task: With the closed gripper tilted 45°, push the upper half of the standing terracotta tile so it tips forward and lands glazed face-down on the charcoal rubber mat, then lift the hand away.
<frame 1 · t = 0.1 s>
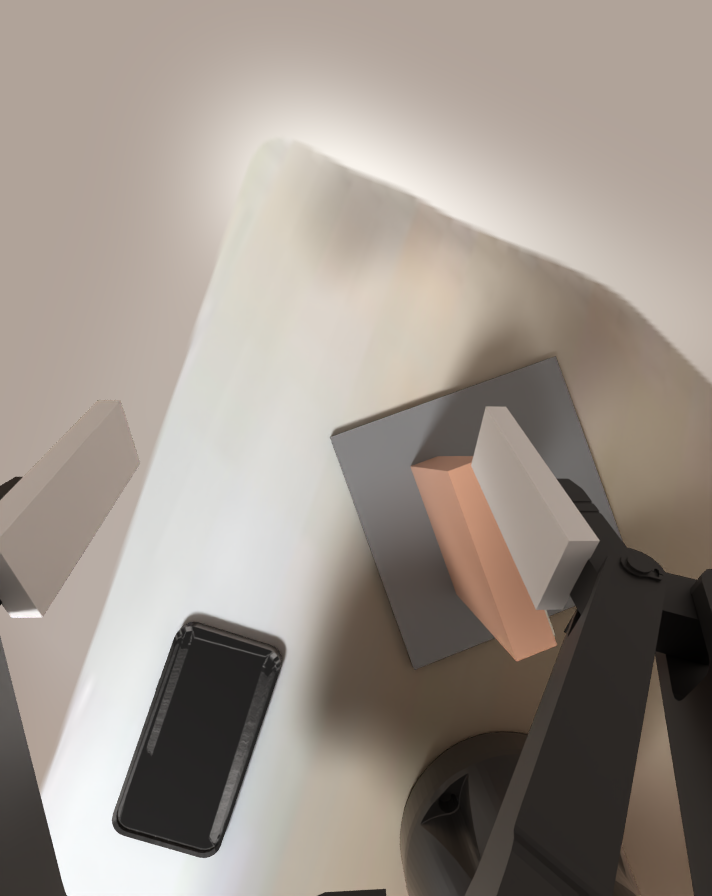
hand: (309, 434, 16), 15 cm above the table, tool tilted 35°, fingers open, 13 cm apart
tile: (448, 524, 31), point 1 cm above the table, touching mat
mat: (483, 509, 31), on the table
phone: (202, 729, 31), on the table
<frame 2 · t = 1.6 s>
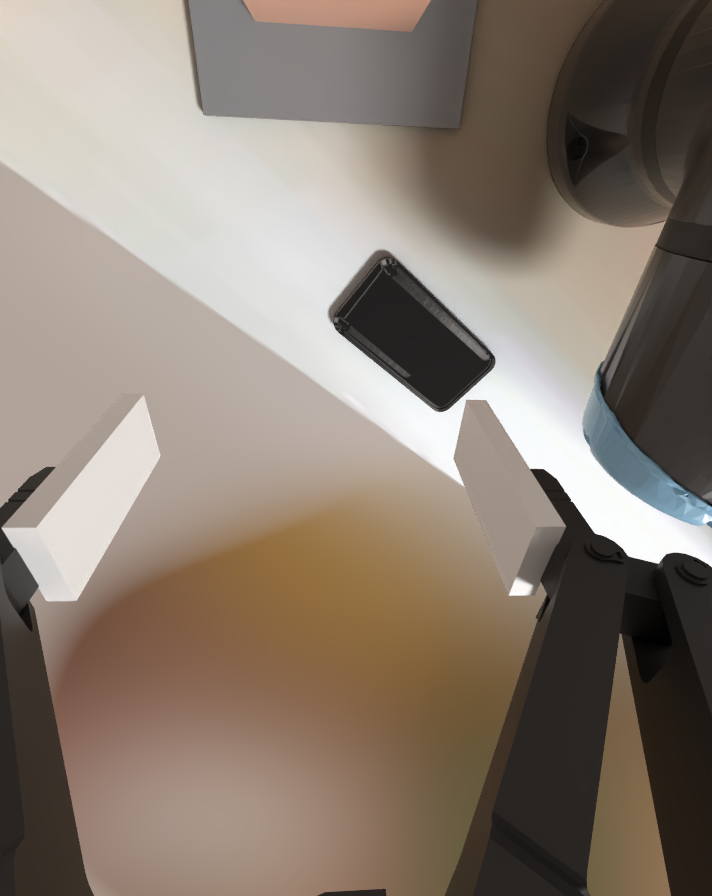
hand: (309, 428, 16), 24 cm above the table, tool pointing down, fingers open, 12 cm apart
phone: (414, 339, 40), on the table
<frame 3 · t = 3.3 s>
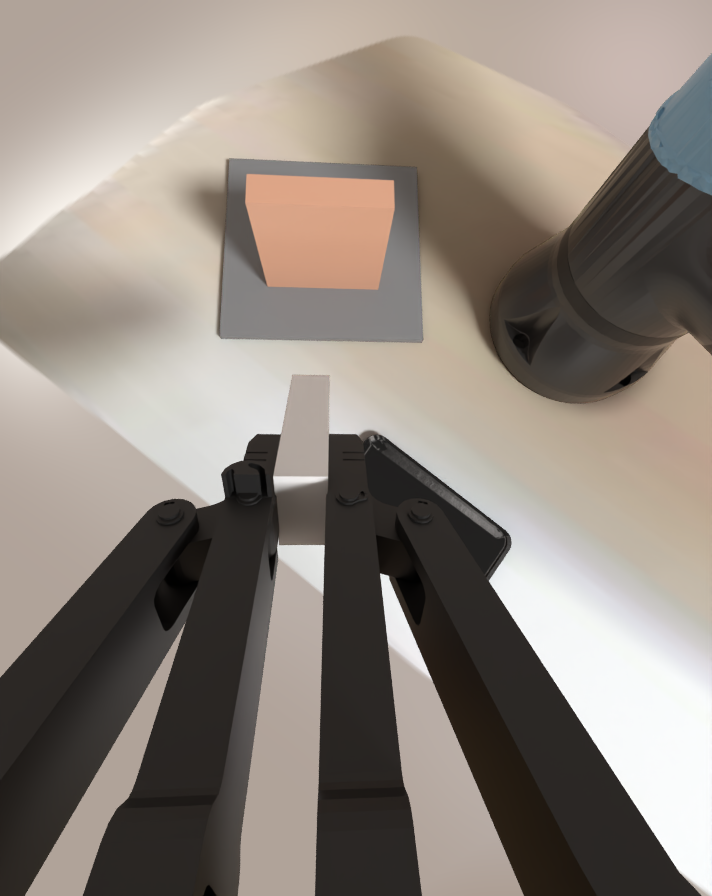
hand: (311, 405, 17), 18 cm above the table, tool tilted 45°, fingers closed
tile: (323, 276, 38), point 1 cm above the table, touching mat
mat: (323, 250, 39), on the table
phone: (414, 520, 36), on the table
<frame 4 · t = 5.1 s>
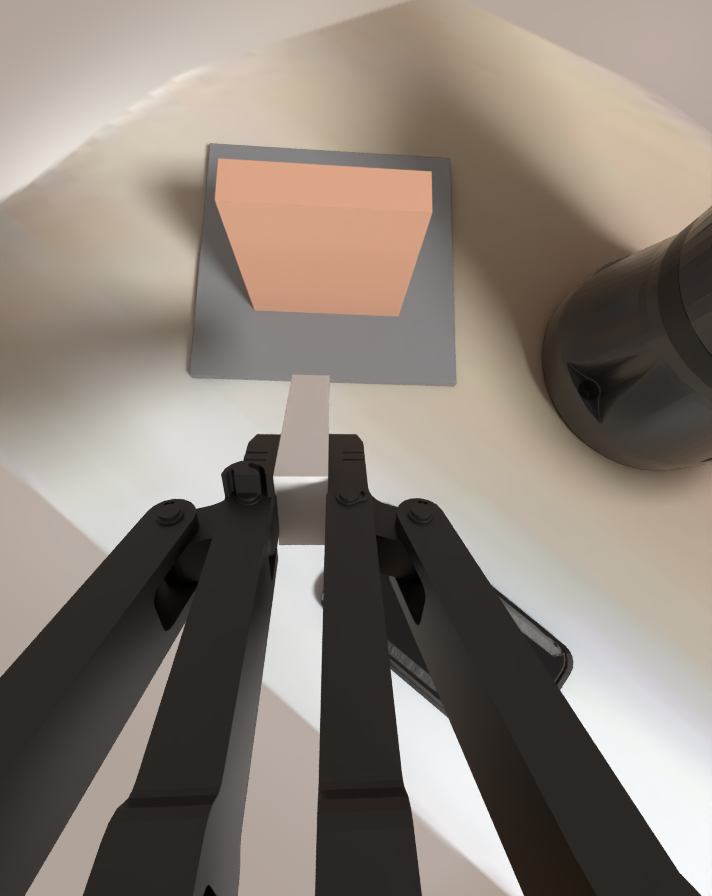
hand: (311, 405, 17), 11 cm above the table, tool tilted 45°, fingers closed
tile: (327, 297, 29), point 1 cm above the table, touching mat
mat: (328, 264, 30), on the table
phone: (441, 626, 27), on the table
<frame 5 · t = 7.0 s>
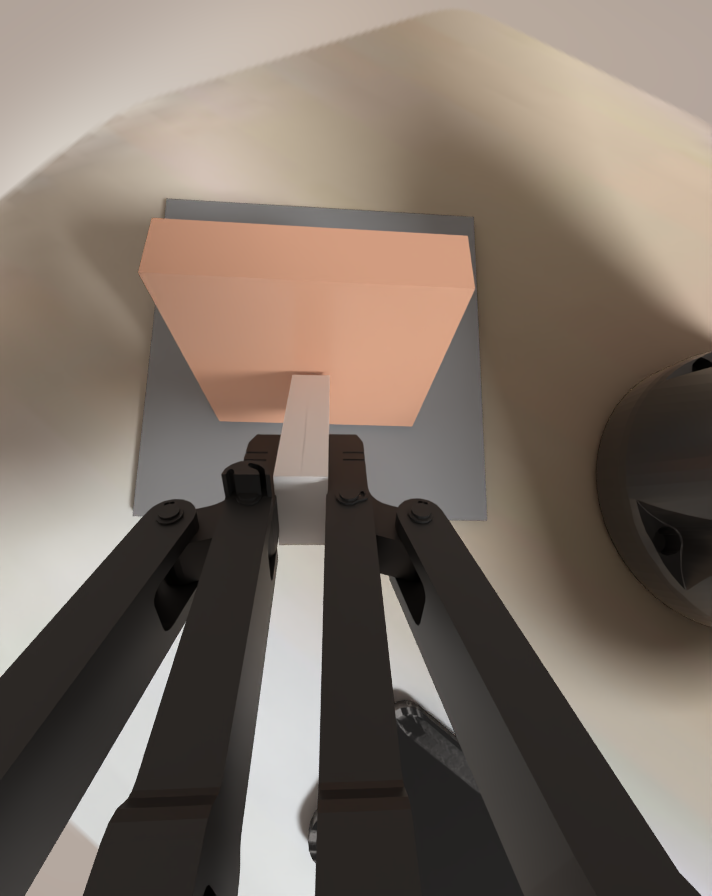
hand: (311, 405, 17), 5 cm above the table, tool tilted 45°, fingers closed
tile: (317, 403, 22), point 1 cm above the table, tilted 12°, touching mat
mat: (319, 356, 23), on the table
phone: (471, 859, 20), on the table
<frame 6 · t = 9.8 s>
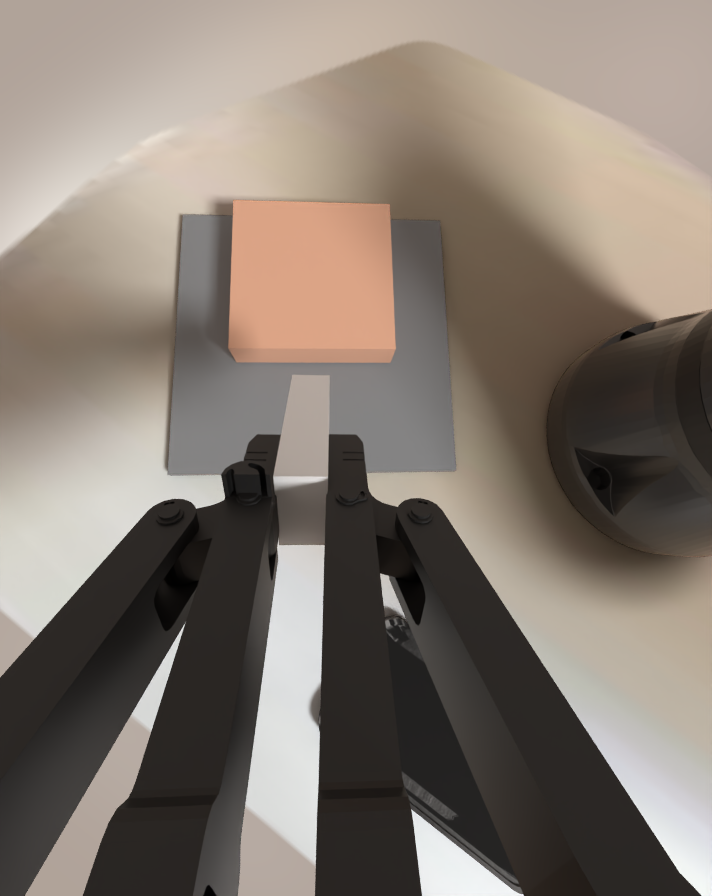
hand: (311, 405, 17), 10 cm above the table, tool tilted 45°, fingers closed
tile: (313, 356, 26), point 2 cm above the table, tilted 90°, touching mat
mat: (314, 341, 28), on the table
phone: (450, 739, 25), on the table
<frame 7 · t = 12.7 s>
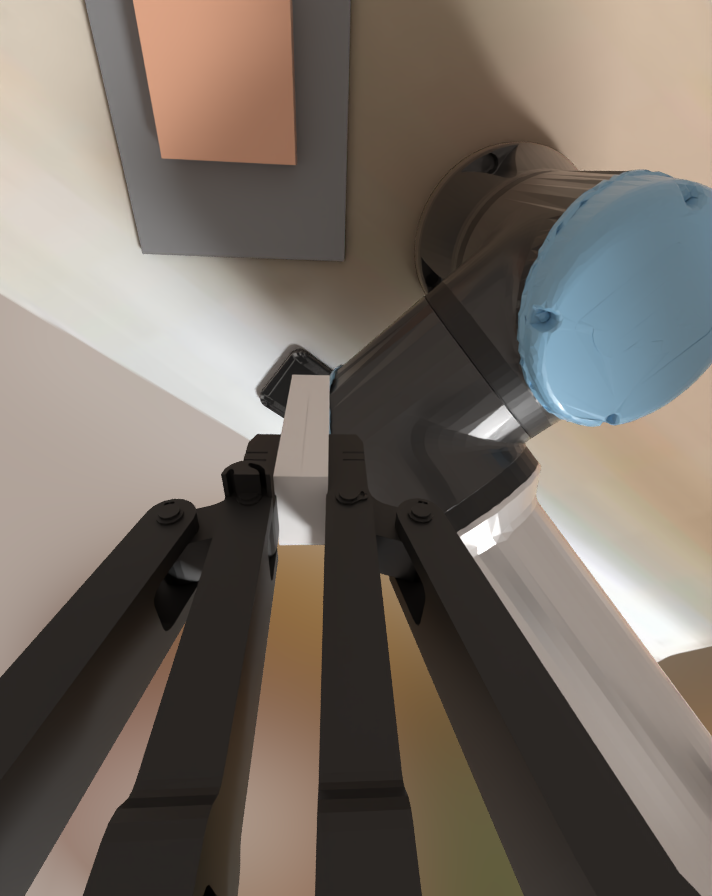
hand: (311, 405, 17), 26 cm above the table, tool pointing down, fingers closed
tile: (232, 161, 33), point 2 cm above the table, tilted 90°, touching mat
mat: (233, 133, 33), on the table
phone: (331, 407, 48), on the table
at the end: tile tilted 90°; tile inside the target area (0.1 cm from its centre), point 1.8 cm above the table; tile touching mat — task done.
